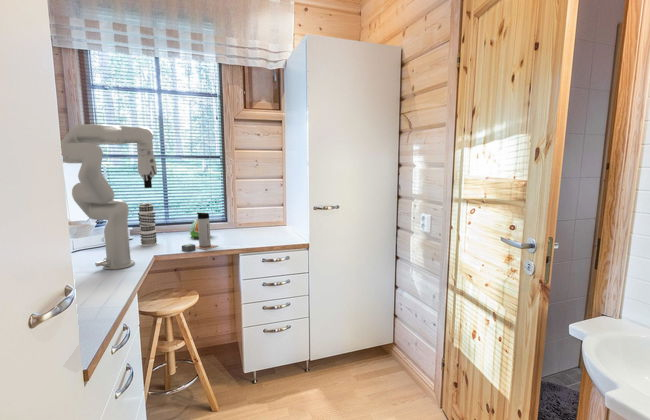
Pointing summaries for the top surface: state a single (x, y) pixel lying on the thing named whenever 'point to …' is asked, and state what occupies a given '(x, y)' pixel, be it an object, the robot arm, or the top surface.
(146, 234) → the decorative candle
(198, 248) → the picture square
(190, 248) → the button base
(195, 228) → the turtle holder
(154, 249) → the top surface
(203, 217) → the travel mug
